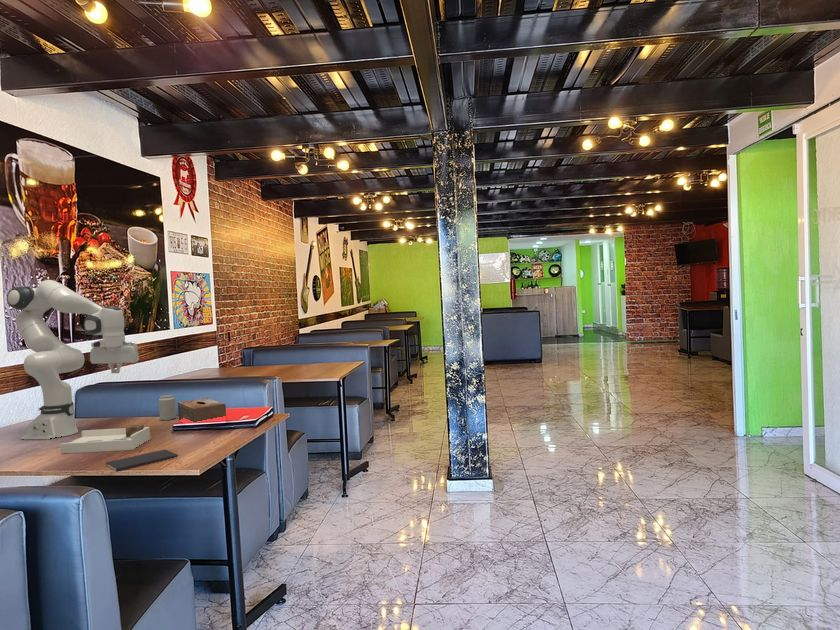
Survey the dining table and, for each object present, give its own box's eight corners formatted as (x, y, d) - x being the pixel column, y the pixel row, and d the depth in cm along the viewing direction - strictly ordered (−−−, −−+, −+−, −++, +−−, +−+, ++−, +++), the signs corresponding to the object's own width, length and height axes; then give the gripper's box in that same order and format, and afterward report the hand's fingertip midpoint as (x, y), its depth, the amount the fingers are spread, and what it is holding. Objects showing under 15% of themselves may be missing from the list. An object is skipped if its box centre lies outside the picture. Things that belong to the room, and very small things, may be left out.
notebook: (116, 473, 197) (178, 458, 212) (115, 468, 197) (178, 454, 212) (105, 466, 206) (165, 453, 221) (104, 462, 206) (165, 449, 221)
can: (170, 421, 280) (168, 396, 279) (156, 421, 281) (155, 397, 281) (179, 417, 287) (177, 394, 287) (166, 417, 289) (164, 394, 288)
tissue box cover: (226, 425, 265) (225, 403, 265) (195, 430, 256) (193, 408, 256) (209, 417, 285) (207, 397, 285) (178, 422, 276) (177, 402, 276)
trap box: (61, 453, 225) (60, 440, 225) (83, 443, 241) (82, 430, 241) (132, 449, 226) (131, 436, 226) (150, 439, 242) (149, 426, 242)
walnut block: (126, 437, 235) (125, 427, 235) (131, 434, 240) (131, 425, 240) (138, 436, 235) (137, 427, 235) (143, 433, 240) (143, 424, 240)
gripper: (140, 341, 257) (142, 371, 258) (95, 342, 257) (96, 372, 257) (134, 342, 251) (135, 373, 251) (87, 343, 250) (88, 374, 251)
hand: (115, 373), depth 254 cm, fingers closed
